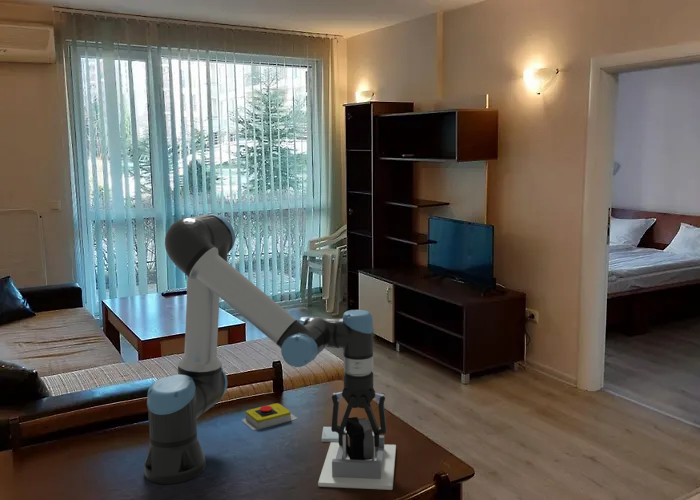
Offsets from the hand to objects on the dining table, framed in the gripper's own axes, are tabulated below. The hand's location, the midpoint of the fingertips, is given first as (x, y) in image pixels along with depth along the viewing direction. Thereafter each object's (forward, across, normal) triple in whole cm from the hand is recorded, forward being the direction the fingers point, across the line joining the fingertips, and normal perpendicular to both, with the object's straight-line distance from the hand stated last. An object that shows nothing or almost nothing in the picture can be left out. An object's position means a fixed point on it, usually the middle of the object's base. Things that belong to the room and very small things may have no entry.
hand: (359, 457), depth 163 cm
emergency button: (+3, -30, +27) cm, 41 cm away
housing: (+2, 0, 0) cm, 2 cm away
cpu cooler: (0, 0, 0) cm, 0 cm away
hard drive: (+3, -6, +18) cm, 19 cm away
